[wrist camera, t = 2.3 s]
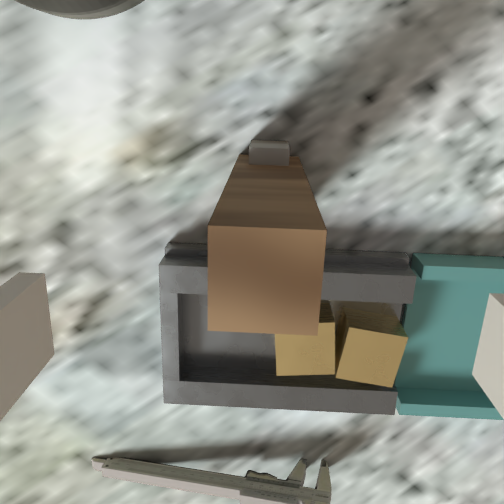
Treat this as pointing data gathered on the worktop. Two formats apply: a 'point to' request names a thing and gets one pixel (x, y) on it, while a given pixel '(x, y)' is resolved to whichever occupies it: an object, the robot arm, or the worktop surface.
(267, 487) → the caliper
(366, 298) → the grey shallow bin
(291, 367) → the chip
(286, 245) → the brown long block
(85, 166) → the worktop surface
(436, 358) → the tray
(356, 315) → the tan block
